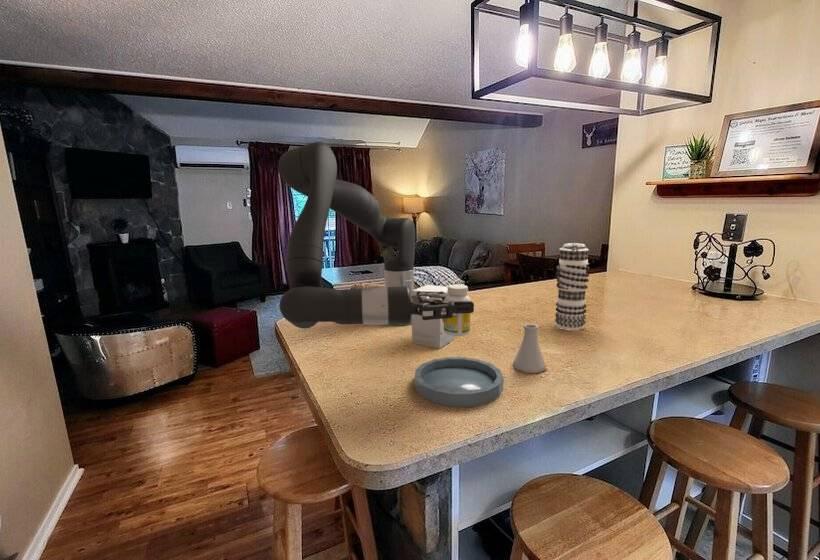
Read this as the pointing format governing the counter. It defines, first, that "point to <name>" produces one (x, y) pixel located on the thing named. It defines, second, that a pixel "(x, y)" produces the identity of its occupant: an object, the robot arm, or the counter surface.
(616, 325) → the counter surface
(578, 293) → the decorative candle
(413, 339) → the supplement box
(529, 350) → the flask
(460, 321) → the supplement bottle
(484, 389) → the dish
